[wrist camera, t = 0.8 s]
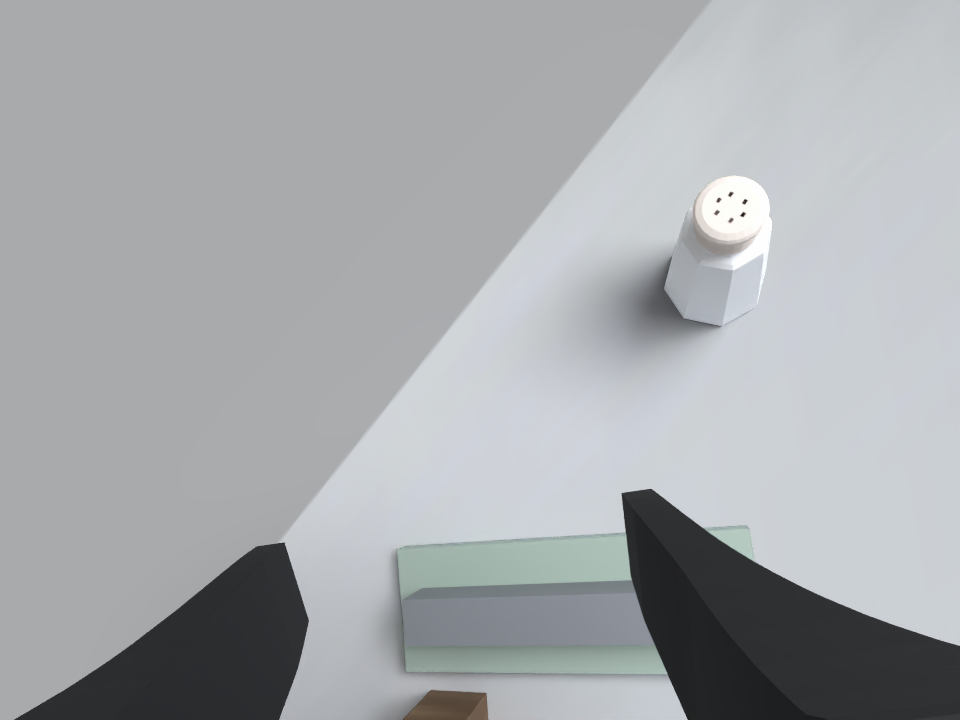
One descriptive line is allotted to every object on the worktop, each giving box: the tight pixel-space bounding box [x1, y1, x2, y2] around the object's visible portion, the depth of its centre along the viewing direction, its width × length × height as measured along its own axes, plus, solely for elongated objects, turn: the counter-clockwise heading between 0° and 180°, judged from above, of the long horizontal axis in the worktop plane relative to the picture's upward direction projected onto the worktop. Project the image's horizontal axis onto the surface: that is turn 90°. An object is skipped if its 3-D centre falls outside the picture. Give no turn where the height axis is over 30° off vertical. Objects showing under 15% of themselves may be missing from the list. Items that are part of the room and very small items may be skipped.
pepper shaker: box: [664, 176, 772, 326], centre depth 28 cm, size 5×5×11 cm
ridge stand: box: [397, 525, 755, 674], centre depth 31 cm, size 7×20×4 cm, turn 96°
